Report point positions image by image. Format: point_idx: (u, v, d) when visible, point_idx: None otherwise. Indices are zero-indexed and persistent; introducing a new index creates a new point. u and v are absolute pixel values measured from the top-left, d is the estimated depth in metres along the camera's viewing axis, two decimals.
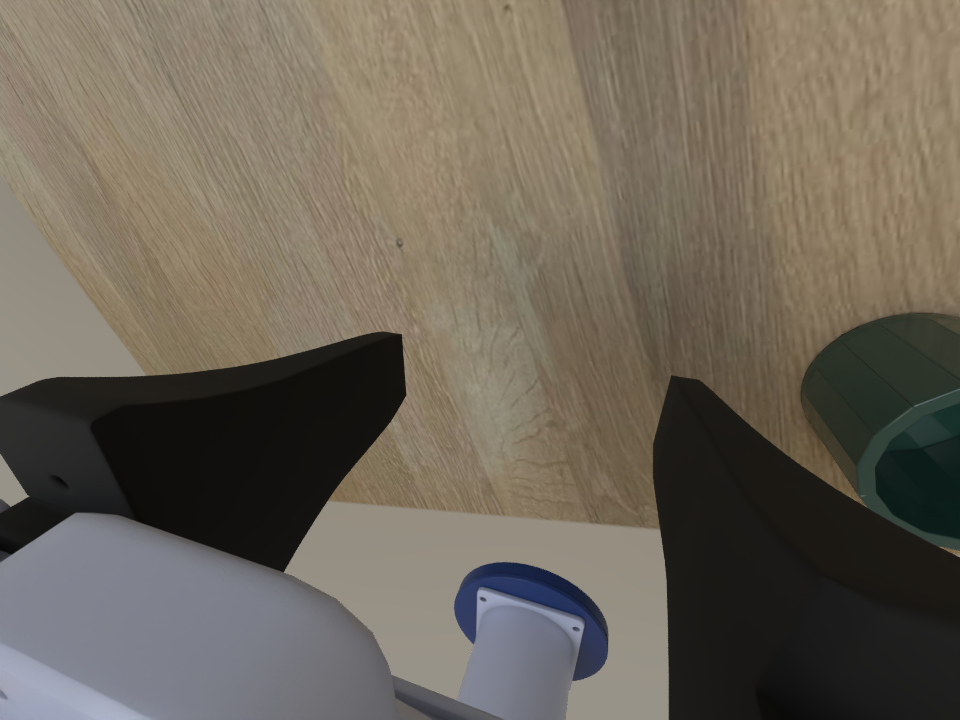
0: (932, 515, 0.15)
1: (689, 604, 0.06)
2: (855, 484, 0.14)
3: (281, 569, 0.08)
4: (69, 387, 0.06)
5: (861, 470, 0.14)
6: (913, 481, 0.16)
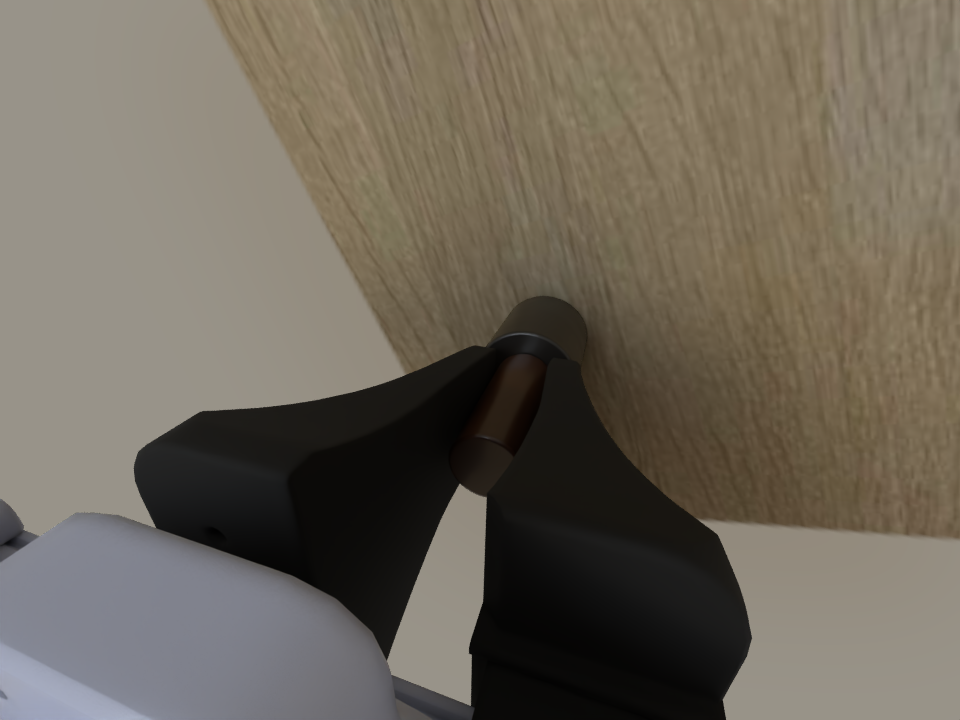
0: None
1: None
2: None
3: (402, 610, 0.08)
4: (230, 426, 0.05)
5: None
6: None
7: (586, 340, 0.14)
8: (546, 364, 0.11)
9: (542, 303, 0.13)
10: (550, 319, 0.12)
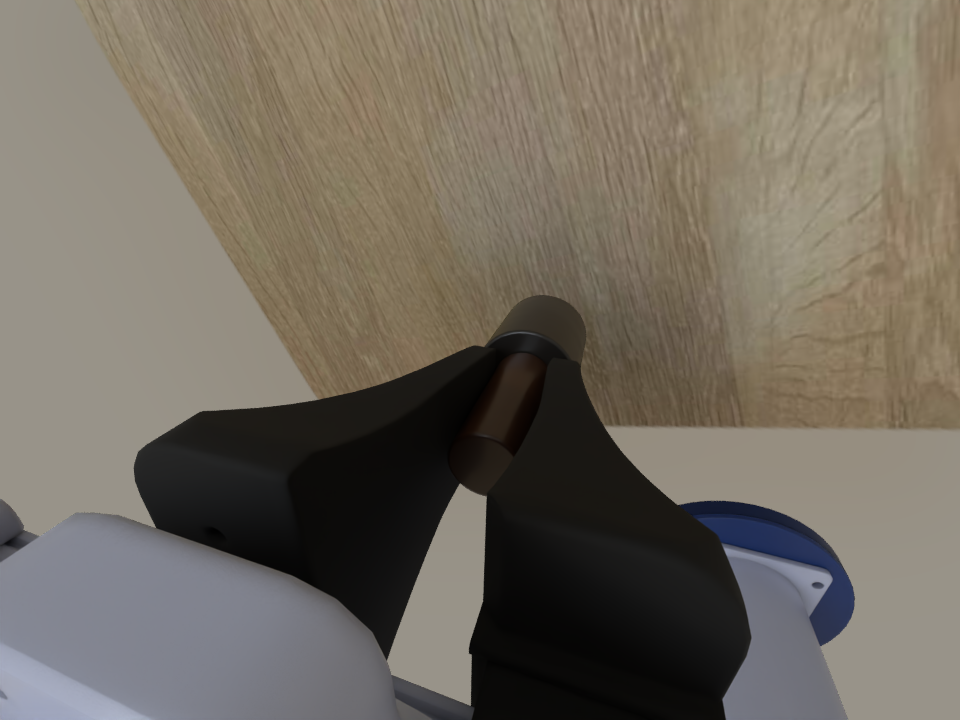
0: None
1: None
2: None
3: (402, 611, 0.08)
4: (230, 426, 0.05)
5: None
6: None
7: (585, 339, 0.14)
8: (545, 363, 0.11)
9: (541, 302, 0.13)
10: (549, 318, 0.12)
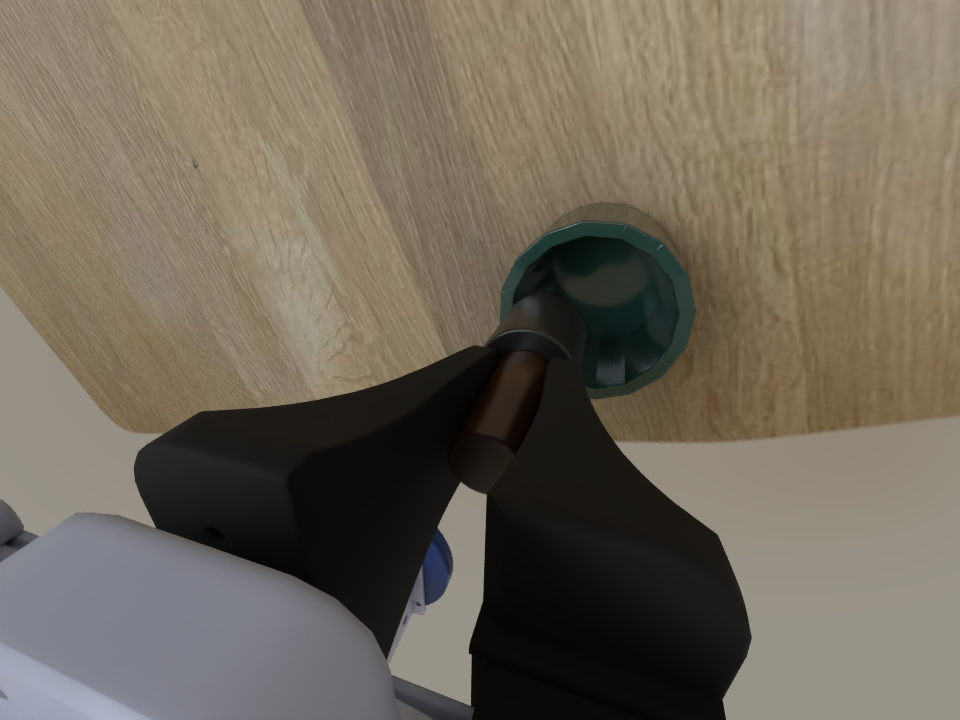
0: (586, 374, 0.17)
1: None
2: None
3: (402, 610, 0.08)
4: (230, 426, 0.05)
5: None
6: (597, 355, 0.18)
7: (586, 337, 0.14)
8: (546, 361, 0.11)
9: (541, 299, 0.13)
10: (550, 316, 0.12)
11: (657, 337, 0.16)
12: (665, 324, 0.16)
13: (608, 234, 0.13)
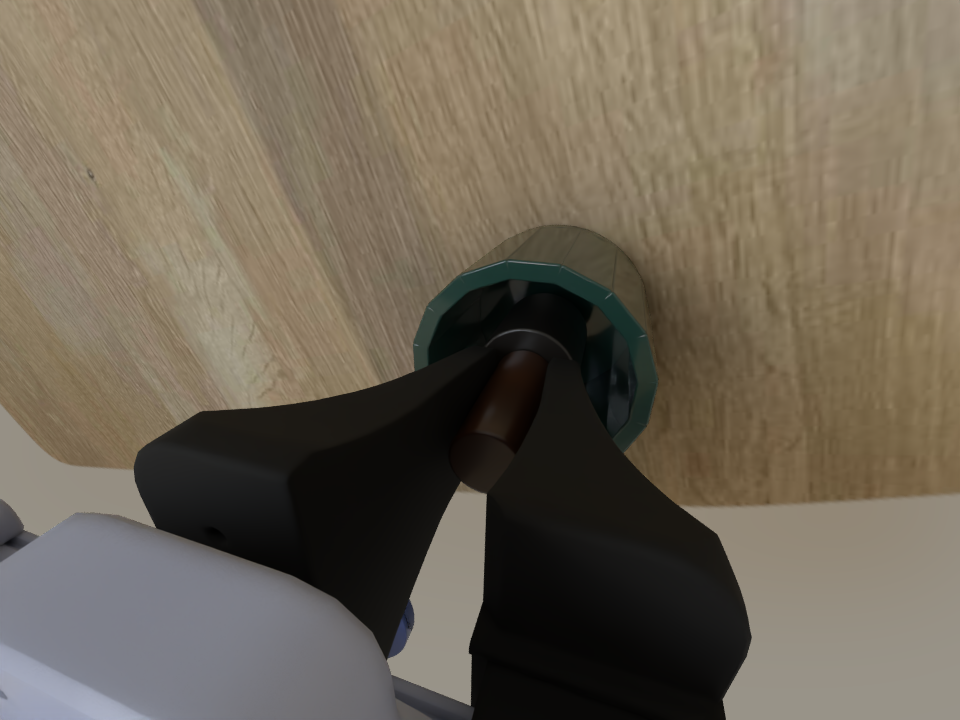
0: None
1: None
2: None
3: (403, 610, 0.08)
4: (230, 426, 0.05)
5: None
6: None
7: (586, 337, 0.14)
8: (546, 361, 0.11)
9: (542, 299, 0.13)
10: (550, 316, 0.12)
11: (617, 400, 0.13)
12: (627, 383, 0.12)
13: (539, 278, 0.10)
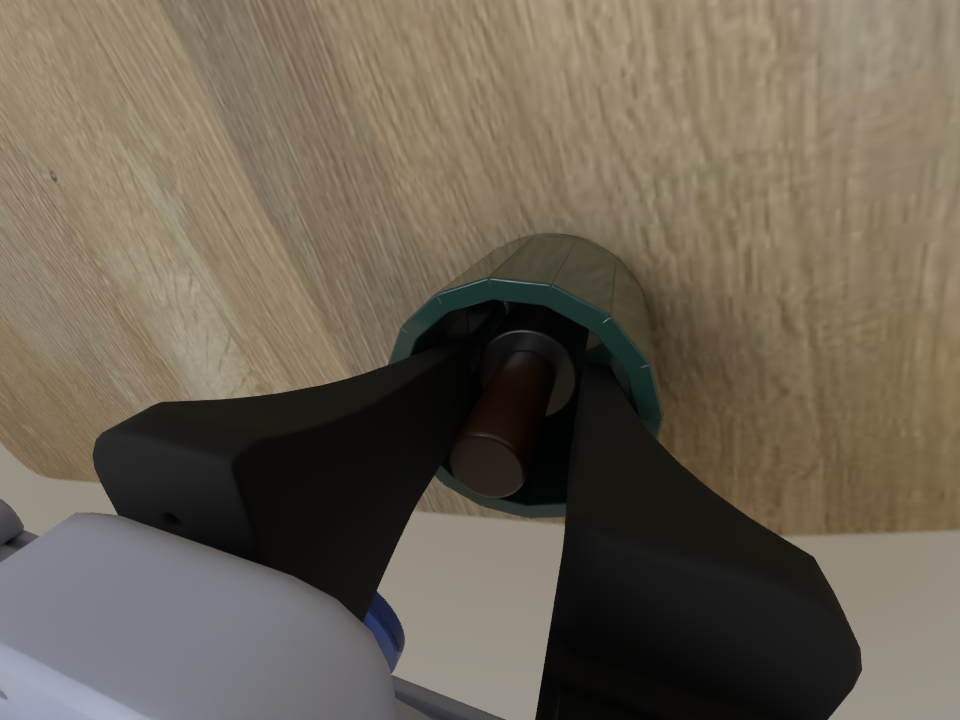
0: None
1: None
2: None
3: (370, 600, 0.08)
4: (185, 415, 0.05)
5: None
6: (542, 439, 0.14)
7: (587, 338, 0.13)
8: (547, 362, 0.11)
9: None
10: (551, 317, 0.12)
11: None
12: None
13: (526, 299, 0.09)
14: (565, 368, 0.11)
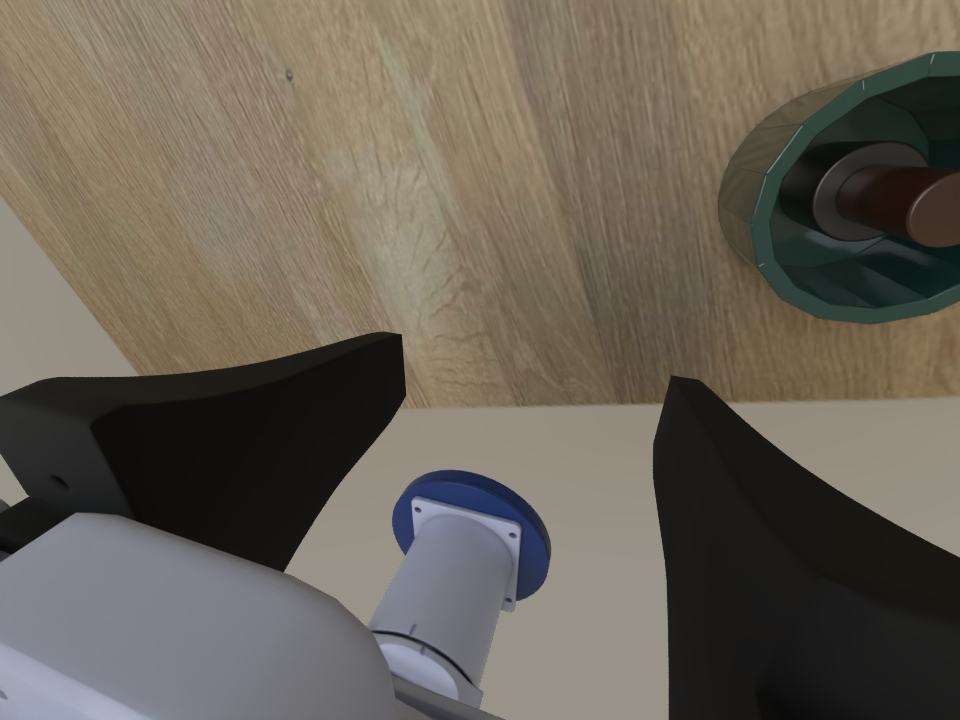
0: (845, 296, 0.13)
1: (689, 604, 0.06)
2: (752, 253, 0.12)
3: (282, 569, 0.08)
4: (69, 387, 0.06)
5: (755, 228, 0.12)
6: (832, 280, 0.14)
7: None
8: None
9: (849, 141, 0.14)
10: None
11: None
12: None
13: None
14: None
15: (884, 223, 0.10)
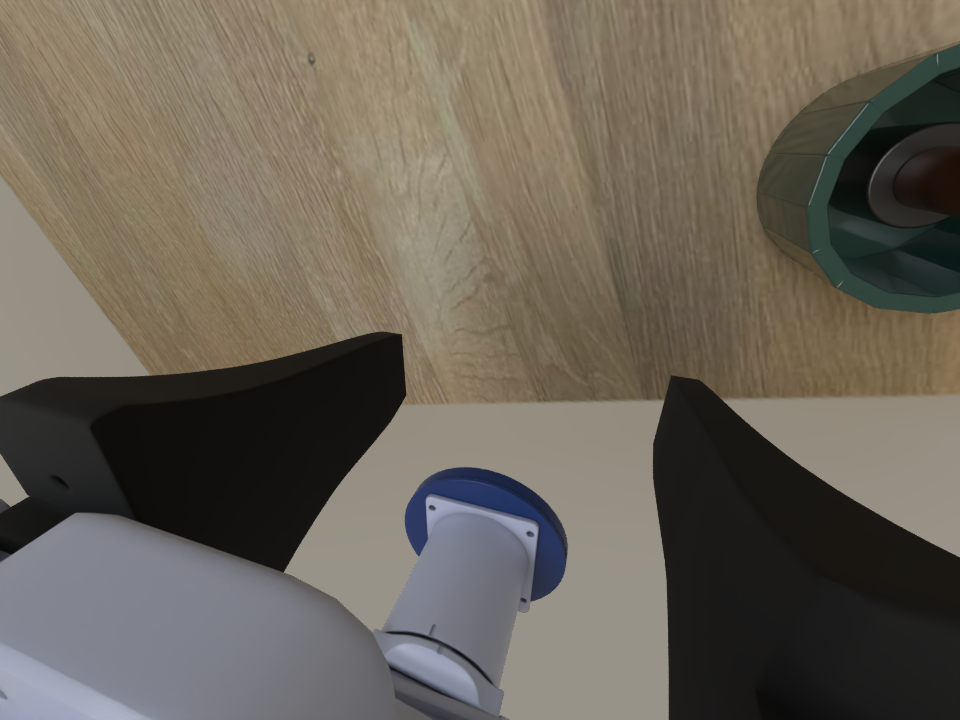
0: (900, 285, 0.12)
1: (689, 604, 0.06)
2: (806, 239, 0.12)
3: (282, 569, 0.08)
4: (70, 387, 0.06)
5: (811, 212, 0.12)
6: (881, 270, 0.14)
7: None
8: None
9: None
10: None
11: None
12: None
13: None
14: None
15: (957, 205, 0.10)
